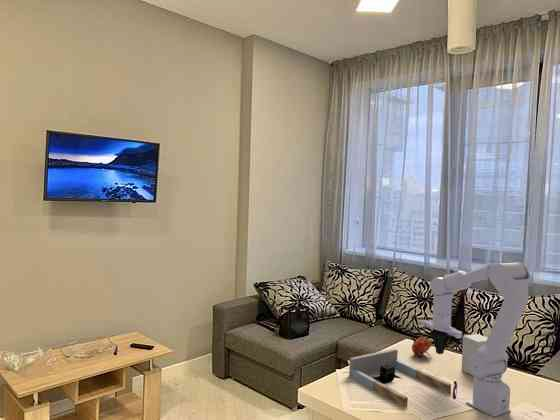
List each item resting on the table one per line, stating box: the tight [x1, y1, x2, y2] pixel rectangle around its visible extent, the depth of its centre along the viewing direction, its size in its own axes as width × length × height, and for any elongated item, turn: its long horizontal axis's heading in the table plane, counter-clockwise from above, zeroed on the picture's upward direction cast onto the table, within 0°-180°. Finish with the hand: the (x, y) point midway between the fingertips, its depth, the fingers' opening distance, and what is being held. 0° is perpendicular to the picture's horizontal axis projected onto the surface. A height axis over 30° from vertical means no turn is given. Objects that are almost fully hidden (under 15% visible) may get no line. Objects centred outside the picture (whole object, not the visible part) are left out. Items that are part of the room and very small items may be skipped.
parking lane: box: [348, 348, 452, 408], centre depth 146 cm, size 24×21×6 cm
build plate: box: [371, 364, 404, 385], centre depth 149 cm, size 12×7×5 cm, turn 120°
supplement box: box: [460, 333, 488, 377], centre depth 157 cm, size 7×7×13 cm
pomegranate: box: [411, 337, 433, 359], centre depth 171 cm, size 7×7×10 cm
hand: (439, 353), depth 149 cm, fingers closed
